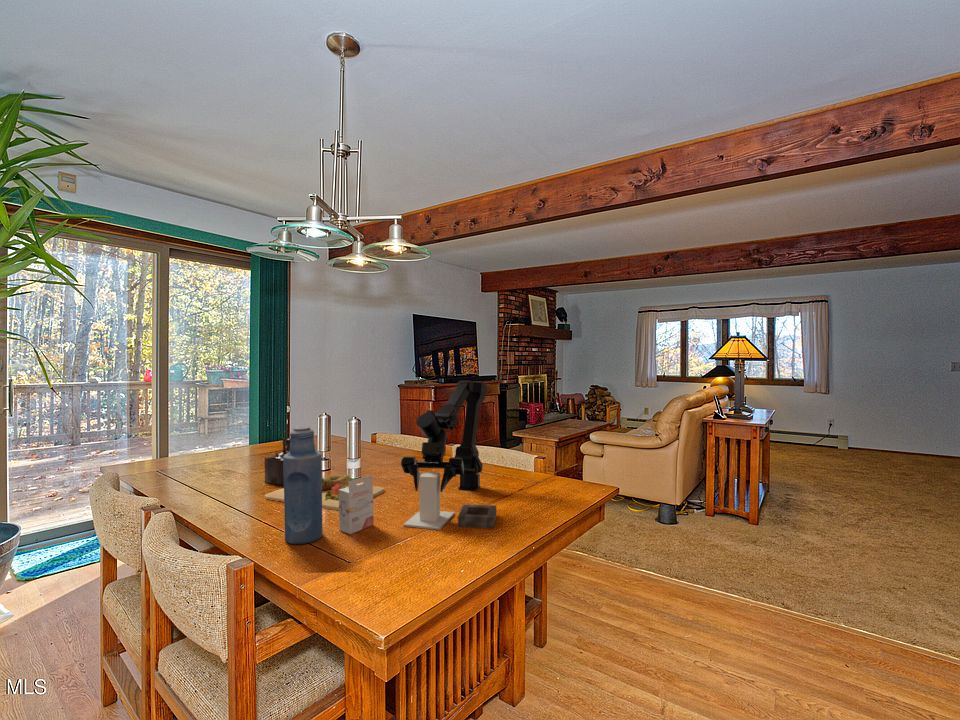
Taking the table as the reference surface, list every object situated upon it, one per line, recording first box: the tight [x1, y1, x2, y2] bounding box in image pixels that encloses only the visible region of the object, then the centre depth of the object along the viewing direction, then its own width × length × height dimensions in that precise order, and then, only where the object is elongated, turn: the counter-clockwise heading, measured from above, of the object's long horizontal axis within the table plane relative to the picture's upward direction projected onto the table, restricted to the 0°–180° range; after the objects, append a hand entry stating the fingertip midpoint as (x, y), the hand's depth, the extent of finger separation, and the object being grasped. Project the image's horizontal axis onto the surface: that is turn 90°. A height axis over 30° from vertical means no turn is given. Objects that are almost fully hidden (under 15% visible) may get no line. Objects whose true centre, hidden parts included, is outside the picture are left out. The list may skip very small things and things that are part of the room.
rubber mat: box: [403, 510, 455, 531], centre depth 138 cm, size 11×13×1 cm
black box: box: [264, 437, 291, 486], centre depth 179 cm, size 16×11×18 cm
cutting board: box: [264, 474, 386, 512], centre depth 163 cm, size 35×23×8 cm
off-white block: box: [418, 471, 441, 521], centre depth 138 cm, size 5×5×13 cm
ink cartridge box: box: [338, 474, 374, 535], centre depth 132 cm, size 9×5×15 cm, turn 143°
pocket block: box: [457, 504, 497, 529], centre depth 137 cm, size 10×10×3 cm
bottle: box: [283, 425, 324, 546], centre depth 125 cm, size 10×10×30 cm
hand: (428, 490), depth 137 cm, fingers open, 7 cm apart
